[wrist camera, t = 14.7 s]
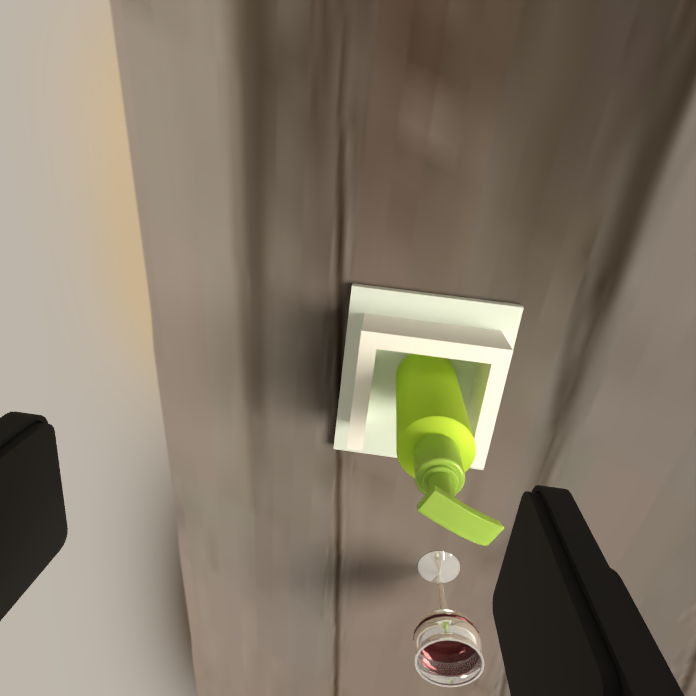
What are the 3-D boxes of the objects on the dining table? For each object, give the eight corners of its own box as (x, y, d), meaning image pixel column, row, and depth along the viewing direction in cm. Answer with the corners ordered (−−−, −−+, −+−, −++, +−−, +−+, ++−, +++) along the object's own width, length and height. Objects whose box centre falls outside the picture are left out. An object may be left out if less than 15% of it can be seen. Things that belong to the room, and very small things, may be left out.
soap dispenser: (441, 418, 51) (469, 572, 32) (384, 385, 50) (378, 522, 31) (476, 375, 49) (527, 511, 30) (417, 339, 48) (432, 456, 29)
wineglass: (422, 594, 61) (428, 693, 50) (401, 553, 59) (403, 647, 48) (475, 580, 59) (494, 679, 48) (456, 538, 57) (471, 631, 46)
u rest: (352, 283, 47) (347, 300, 42) (521, 304, 47) (538, 324, 41) (334, 443, 54) (327, 477, 48) (481, 464, 53) (491, 500, 48)
